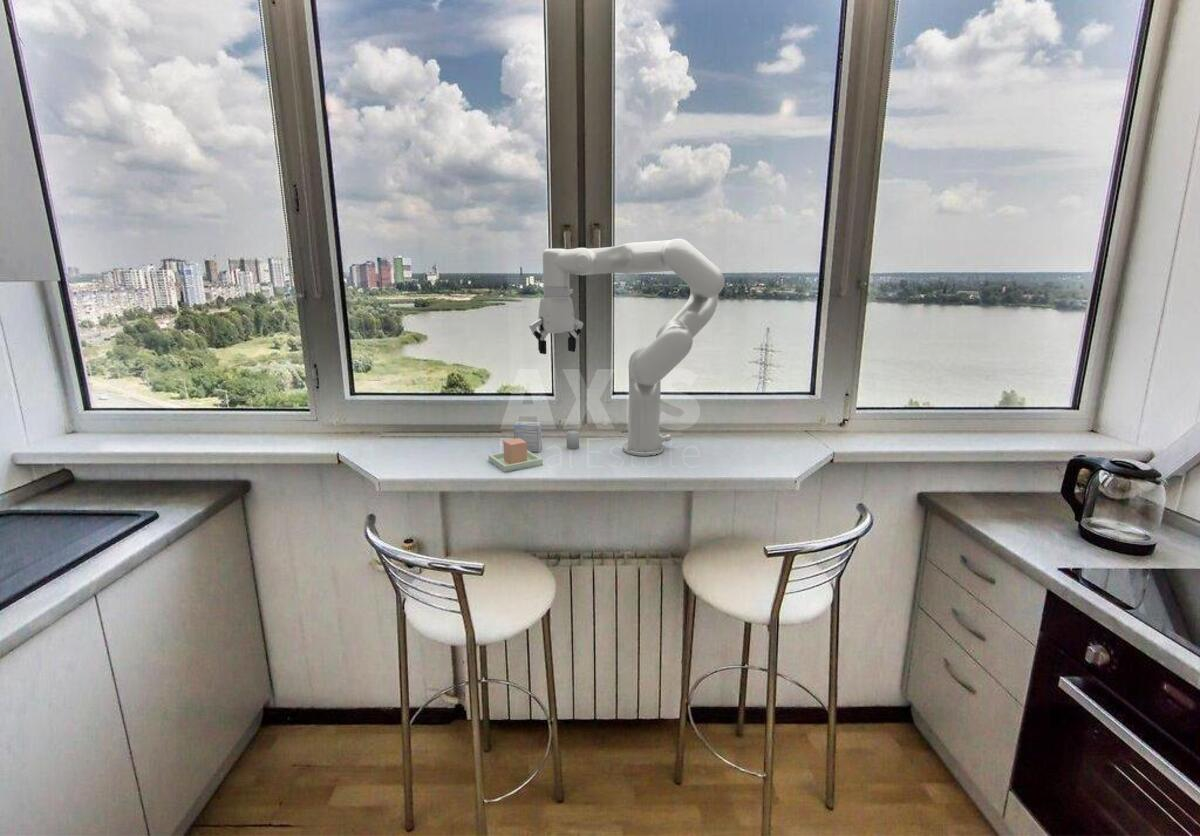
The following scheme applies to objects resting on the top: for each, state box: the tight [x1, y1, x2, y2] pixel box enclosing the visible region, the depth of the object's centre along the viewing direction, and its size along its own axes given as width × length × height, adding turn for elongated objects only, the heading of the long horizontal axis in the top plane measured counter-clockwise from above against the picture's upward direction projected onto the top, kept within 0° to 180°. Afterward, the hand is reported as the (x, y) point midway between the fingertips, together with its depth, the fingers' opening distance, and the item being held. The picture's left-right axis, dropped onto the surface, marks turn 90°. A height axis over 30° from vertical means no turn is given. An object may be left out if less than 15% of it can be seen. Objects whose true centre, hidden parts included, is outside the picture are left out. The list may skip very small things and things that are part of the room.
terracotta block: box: [502, 438, 527, 464], centre depth 161 cm, size 5×5×6 cm
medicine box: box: [512, 421, 543, 453], centre depth 173 cm, size 8×4×9 cm, turn 84°
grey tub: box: [565, 430, 580, 450], centre depth 176 cm, size 4×4×5 cm
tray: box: [488, 450, 544, 473], centre depth 162 cm, size 12×12×2 cm
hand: (557, 352), depth 167 cm, fingers open, 9 cm apart
